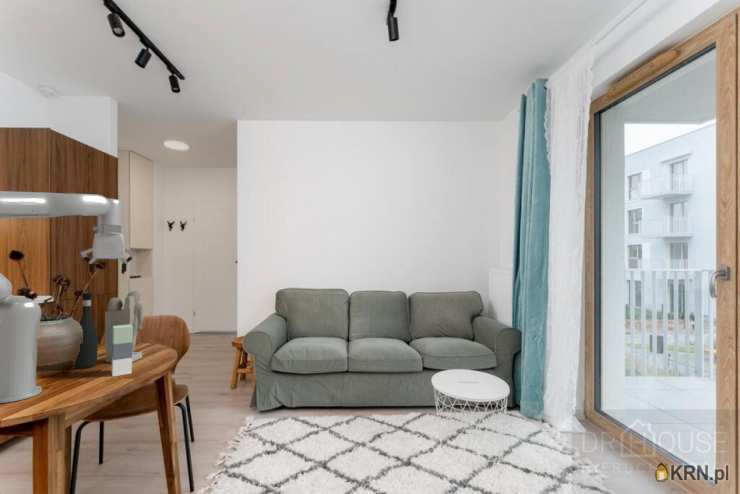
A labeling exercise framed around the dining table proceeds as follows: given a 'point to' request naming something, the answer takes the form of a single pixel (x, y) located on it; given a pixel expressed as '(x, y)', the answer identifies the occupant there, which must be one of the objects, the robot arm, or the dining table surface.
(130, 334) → the sage block
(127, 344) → the charcoal block
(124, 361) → the cream block
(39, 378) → the dining table surface
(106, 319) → the sculpture
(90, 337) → the wine bottle
